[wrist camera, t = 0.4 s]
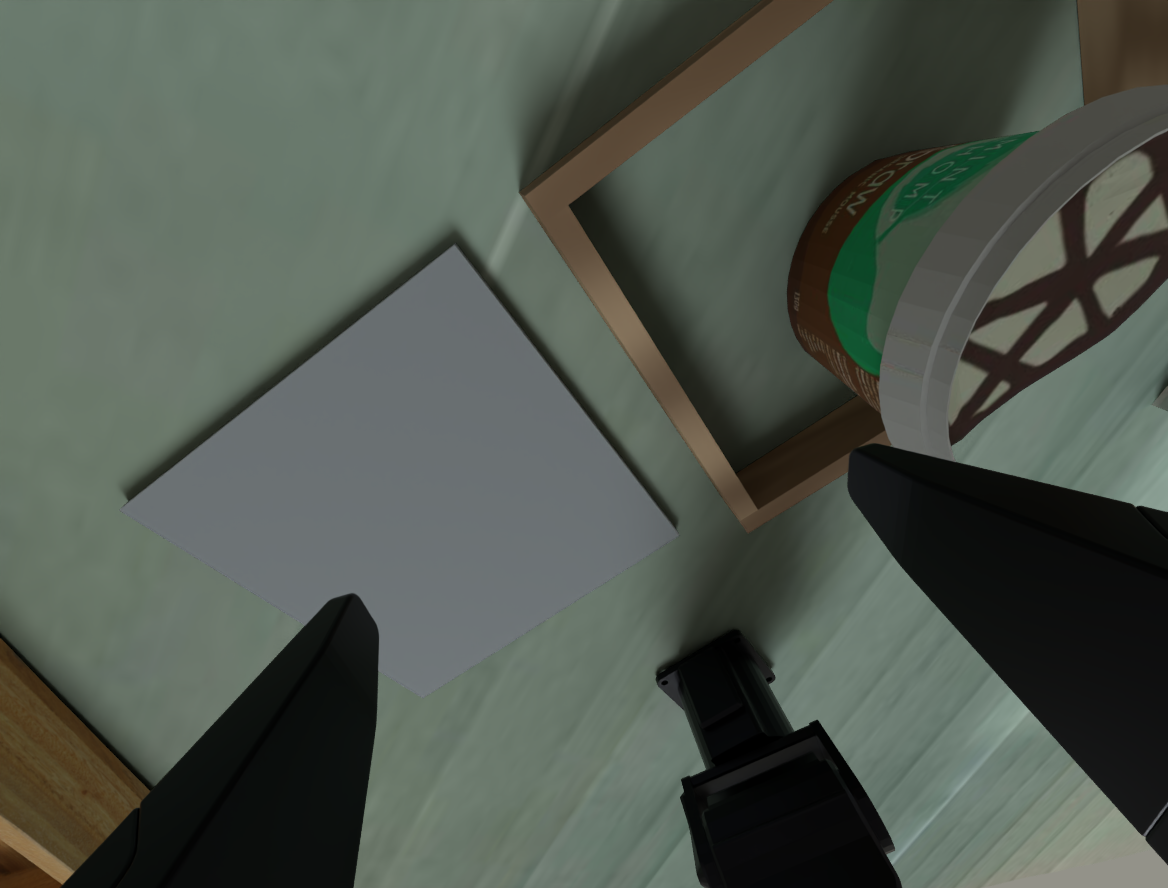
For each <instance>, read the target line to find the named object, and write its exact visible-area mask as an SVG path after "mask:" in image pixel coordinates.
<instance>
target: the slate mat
mask: <svg viewBox="0 0 1168 888" xmlns="http://www.w3.org/2000/svg"><path fill="white" fill-rule="evenodd" d="M119 511H121V512H122V513H124V514H126V515H127V516H129V517H131V518H132V519H134V520H135V521H137V522H139V523H140V524H142V525H143V526H145V527H147V528H148V529H150V530H152V531H153V532H155V533H156V534H158V535H160V536H161V537H163V538H165V539H166V540H168V541H169V542H171V543H173V544H174V545H176V546H177V547H179V548H181V549H182V550H184V551H186V552H187V553H189V554H190V555H192V556H194V557H195V558H197V559H198V560H200V561H202V562H203V563H205V564H207V565H208V566H210V567H211V568H213V569H215V570H216V571H218V572H219V573H221V574H223V575H224V576H226V577H228V578H229V579H231V580H232V581H234V582H236V583H237V584H239V585H240V586H242V587H244V588H245V589H247V590H249V591H250V592H252V593H253V594H255V595H257V596H258V597H260V598H261V599H263V600H265V601H266V602H268V603H270V604H271V605H273V606H274V607H276V608H278V609H279V610H281V611H283V612H284V613H286V614H287V615H289V616H291V617H292V618H294V619H295V620H297V621H299V622H300V623H302V624H304V625H306V624H307V623H308V622H309V621H310V620H311V619H312V618H313V617H314V616H315V614H316V613H317V612H318V611H319V610H320V609H321V608H322V607H323V606H324V605H325V604H326V603H327V602H328V601H329V600H330V599H332V598H335V597H339V596H342V595H346V594H349V593H355V594H357V595H358V596H359V597H360V598H361V600H362V602H363V603H364V605H365V606H366V608H367V609H368V611H369V613H370V614H371V616H372V617H373V619H374V621H375V622H376V624H377V627H378V631H379V664H378V671H379V672H381V673H383V674H384V675H386V676H388V677H389V678H391V679H392V680H394V681H396V682H397V683H399V684H401V685H402V686H404V687H405V688H407V689H409V690H410V691H412V692H413V693H415V694H417V695H418V696H420V697H422V698H424V697H426V696H427V695H429V694H430V693H432V692H433V691H435V690H437V689H438V688H440V687H441V686H443V685H444V684H446V683H448V682H449V681H451V680H452V679H454V678H456V677H457V676H459V675H460V674H462V673H463V672H465V671H467V670H468V669H470V668H471V667H473V666H474V665H476V664H478V663H479V662H481V661H482V660H484V659H486V658H487V657H489V656H490V655H492V654H493V653H495V652H497V651H498V650H500V649H501V648H503V647H504V646H506V645H508V644H509V643H511V642H512V641H514V640H516V639H517V638H519V637H520V636H522V635H523V634H525V633H527V632H528V631H530V630H531V629H533V628H534V627H536V626H538V625H539V624H541V623H542V622H544V621H546V620H547V619H549V618H550V617H552V616H553V615H555V614H557V613H558V612H560V611H561V610H563V609H564V608H566V607H568V606H569V605H571V604H572V603H574V602H576V601H577V600H579V599H580V598H582V597H583V596H585V595H587V594H588V593H590V592H591V591H593V590H595V589H596V588H598V587H599V586H601V585H602V584H604V583H606V582H607V581H609V580H610V579H612V578H613V577H615V576H617V575H618V574H620V573H621V572H623V571H625V570H626V569H628V568H629V567H631V566H632V565H634V564H636V563H637V562H639V561H640V560H642V559H643V558H645V557H647V556H648V555H650V554H651V553H653V552H655V551H656V550H658V549H659V548H661V547H662V546H664V545H666V544H667V543H669V542H670V541H672V540H673V539H675V538H677V537H678V536H680V535H679V533H678V531H677V529H676V528H675V526H674V525H673V524H672V523H671V521H670V520H669V519H668V517H667V516H666V515H665V513H664V512H663V511H662V510H661V508H660V507H659V506H658V504H657V503H656V502H655V500H654V499H653V498H652V497H651V495H650V494H649V493H648V491H647V490H646V489H645V488H644V486H643V485H642V484H641V482H640V481H639V480H638V478H637V477H636V476H635V475H634V473H633V472H632V471H631V469H630V468H629V467H628V466H627V464H626V463H625V462H624V460H623V459H622V458H621V456H620V455H619V454H618V453H617V451H616V450H615V449H614V447H613V446H612V445H611V444H610V442H609V441H608V440H607V438H606V437H605V436H604V434H603V433H602V432H601V431H600V429H599V428H598V427H597V425H596V424H595V423H594V421H593V420H592V419H591V418H590V416H589V415H588V414H587V412H586V411H585V410H584V409H583V407H582V406H581V405H580V403H579V402H578V401H577V399H576V398H575V397H574V396H573V394H572V393H571V392H570V390H569V389H568V388H567V387H566V385H565V384H564V383H563V381H562V380H561V379H560V377H559V376H558V375H557V374H556V372H555V371H554V370H553V368H552V367H551V366H550V364H549V363H548V362H547V361H546V359H545V358H544V357H543V355H542V354H541V353H540V352H539V350H538V349H537V348H536V346H535V345H534V344H533V342H532V341H531V340H530V339H529V337H528V336H527V335H526V333H525V332H524V331H523V330H522V328H521V327H520V326H519V324H518V323H517V322H516V320H515V319H514V318H513V317H512V315H511V314H510V313H509V311H508V310H507V309H506V307H505V306H504V305H503V304H502V302H501V301H500V300H499V298H498V297H497V296H496V295H495V293H494V292H493V291H492V289H491V288H490V287H489V285H488V284H487V283H486V282H485V280H484V279H483V278H482V276H481V275H480V274H479V273H478V271H477V270H476V269H475V267H474V266H473V265H472V263H471V262H470V261H469V260H468V258H467V257H466V256H465V254H464V253H463V252H462V250H461V249H460V248H459V247H458V245H457V244H456V243H454V244H453V245H452V246H451V247H449V248H448V249H447V250H445V251H444V252H443V253H442V254H440V255H439V256H438V257H437V258H435V259H434V260H433V261H432V262H430V263H429V264H428V265H427V266H425V267H424V268H423V269H421V270H420V271H419V272H418V273H416V274H415V275H414V276H413V277H411V278H410V279H409V280H408V281H406V282H405V283H404V284H402V285H401V286H400V287H399V288H397V289H396V290H395V291H394V292H392V293H391V294H390V295H389V296H387V297H386V298H385V299H384V300H382V301H381V302H380V303H378V304H377V305H376V306H375V307H373V308H372V309H371V310H370V311H368V312H367V313H366V314H365V315H363V316H362V317H361V318H359V319H358V320H357V321H356V322H354V323H353V324H352V325H351V326H349V327H348V328H347V329H346V330H344V331H343V332H342V333H341V334H339V335H338V336H337V337H335V338H334V339H333V340H332V341H330V342H329V343H328V344H327V345H325V346H324V347H323V348H322V349H320V350H319V351H318V352H316V353H315V354H314V355H313V356H311V357H310V358H309V359H308V360H306V361H305V362H304V363H303V364H301V365H300V366H299V367H298V368H296V369H295V370H294V371H292V372H291V373H290V374H289V375H287V376H286V377H285V378H284V379H282V380H281V381H280V382H279V383H277V384H276V385H275V386H274V387H272V388H271V389H270V390H268V391H267V392H266V393H265V394H263V395H262V396H261V397H260V398H258V399H257V400H256V401H255V402H253V403H252V404H251V405H249V406H248V407H247V408H246V409H244V410H243V411H242V412H241V413H239V414H238V415H237V416H236V417H234V418H233V419H232V420H231V421H229V422H228V423H227V424H225V425H224V426H223V427H222V428H220V429H219V430H218V431H217V432H215V433H214V434H213V435H212V436H210V437H209V438H208V439H206V440H205V441H204V442H203V443H201V444H200V445H199V446H198V447H196V448H195V449H194V450H193V451H191V452H190V453H189V454H188V455H186V456H185V457H184V458H182V459H181V460H180V461H179V462H177V463H176V464H175V465H174V466H172V467H171V468H170V469H169V470H167V471H166V472H165V473H163V474H162V475H161V476H160V477H158V478H157V479H156V480H155V481H153V482H152V483H151V484H150V485H148V486H147V487H146V488H145V489H143V490H142V491H141V492H139V493H138V494H137V495H136V496H134V497H133V498H132V499H131V500H129V501H128V502H127V503H126V504H125V505H124V506H123V507H122V508H121V509H119Z"/></svg>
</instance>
